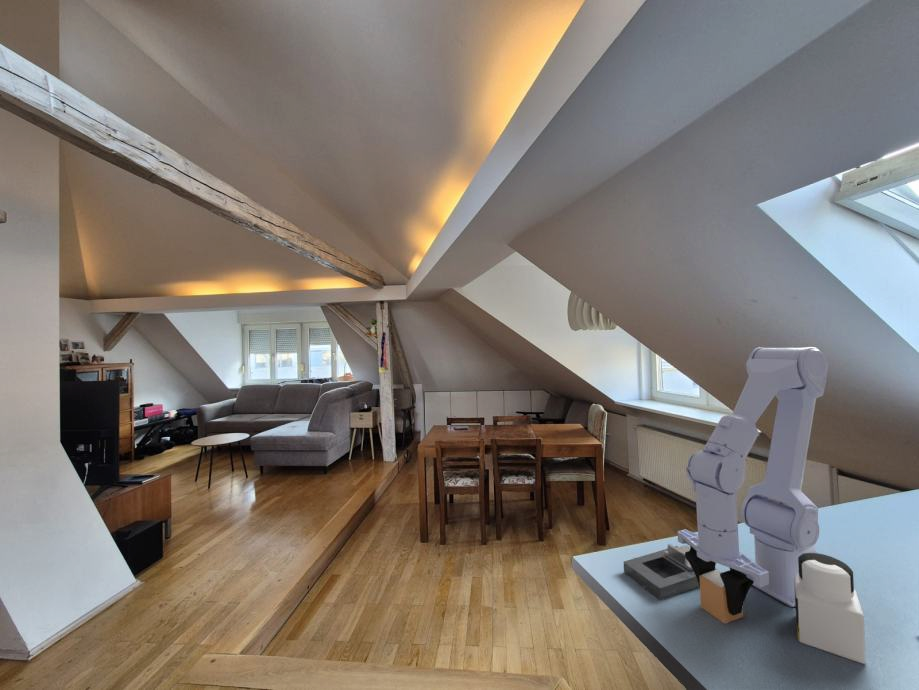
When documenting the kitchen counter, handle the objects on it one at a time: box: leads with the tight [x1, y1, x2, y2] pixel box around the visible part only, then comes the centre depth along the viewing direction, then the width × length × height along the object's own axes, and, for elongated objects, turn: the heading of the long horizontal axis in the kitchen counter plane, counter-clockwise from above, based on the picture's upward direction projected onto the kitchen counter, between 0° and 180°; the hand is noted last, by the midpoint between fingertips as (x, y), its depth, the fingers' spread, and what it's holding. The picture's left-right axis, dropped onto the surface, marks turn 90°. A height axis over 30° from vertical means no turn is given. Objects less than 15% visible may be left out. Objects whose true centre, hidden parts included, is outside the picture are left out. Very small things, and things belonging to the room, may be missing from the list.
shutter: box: [664, 543, 693, 570], centre depth 76 cm, size 6×6×2 cm
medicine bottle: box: [794, 552, 867, 665], centre depth 58 cm, size 7×7×12 cm
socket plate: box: [623, 545, 718, 601], centre depth 75 cm, size 14×9×2 cm, turn 108°
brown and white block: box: [699, 568, 744, 624], centre depth 65 cm, size 4×4×6 cm
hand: (721, 603), depth 65 cm, fingers closed on brown and white block, 4 cm apart
